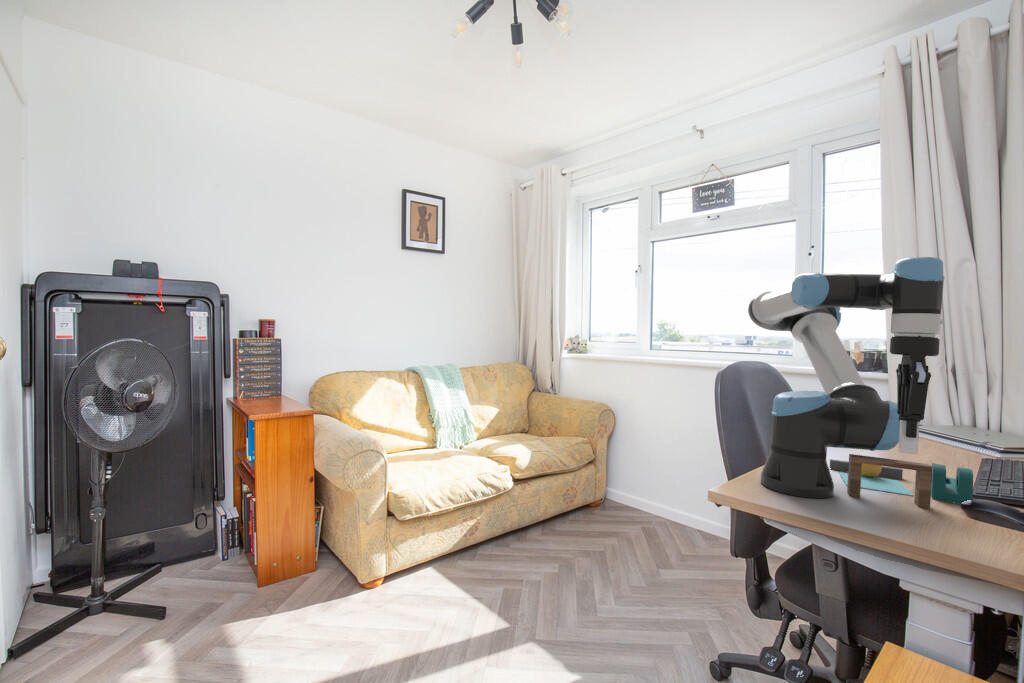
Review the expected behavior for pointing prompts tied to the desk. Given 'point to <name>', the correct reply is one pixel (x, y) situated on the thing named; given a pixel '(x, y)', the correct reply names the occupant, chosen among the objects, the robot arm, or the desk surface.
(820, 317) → the robot arm
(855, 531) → the desk surface
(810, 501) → the desk surface
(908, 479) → the desk surface
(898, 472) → the wall
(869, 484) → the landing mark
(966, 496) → the bracket
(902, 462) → the bridge
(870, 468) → the ball
